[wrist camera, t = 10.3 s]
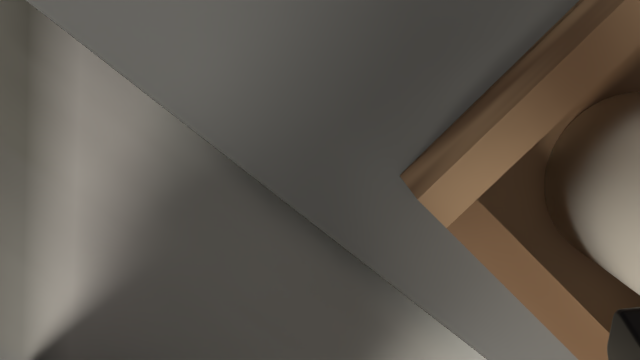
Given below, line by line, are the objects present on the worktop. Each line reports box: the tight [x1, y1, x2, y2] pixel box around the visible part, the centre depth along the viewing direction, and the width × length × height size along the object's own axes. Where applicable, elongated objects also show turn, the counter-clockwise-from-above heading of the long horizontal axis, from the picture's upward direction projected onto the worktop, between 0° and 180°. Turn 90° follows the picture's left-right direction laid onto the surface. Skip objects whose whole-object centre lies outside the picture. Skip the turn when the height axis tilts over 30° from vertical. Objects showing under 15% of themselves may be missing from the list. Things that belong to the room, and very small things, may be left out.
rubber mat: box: [26, 0, 579, 360], centre depth 17 cm, size 24×14×1 cm, turn 51°
